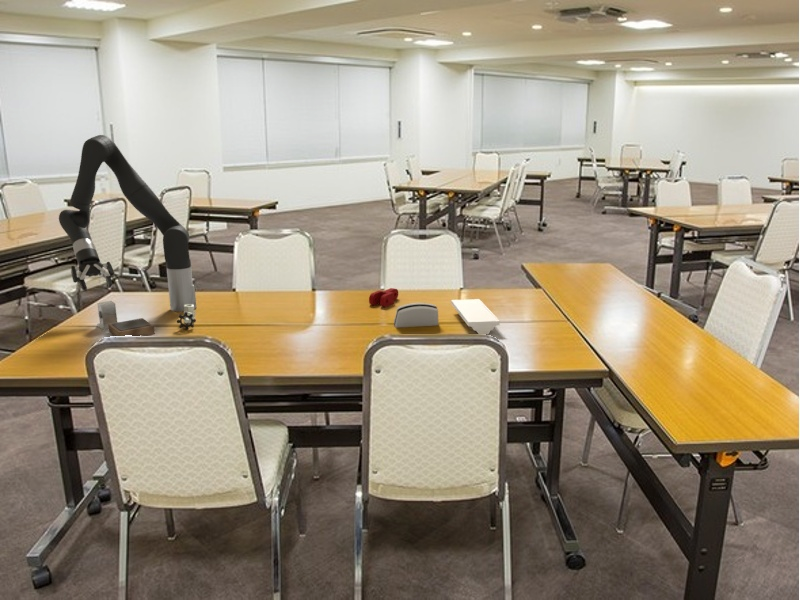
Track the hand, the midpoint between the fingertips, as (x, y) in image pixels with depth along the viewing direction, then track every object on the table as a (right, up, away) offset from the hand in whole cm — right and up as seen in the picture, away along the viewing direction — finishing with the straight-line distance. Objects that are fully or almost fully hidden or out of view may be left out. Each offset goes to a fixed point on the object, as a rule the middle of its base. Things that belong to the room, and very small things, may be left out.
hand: (98, 288), depth 239 cm
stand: (+17, -16, -10) cm, 26 cm away
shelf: (+140, -13, +3) cm, 141 cm away
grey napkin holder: (+119, -14, 0) cm, 120 cm away
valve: (+34, -14, -1) cm, 37 cm away
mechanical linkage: (+107, -6, +30) cm, 111 cm away
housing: (+5, -14, -3) cm, 16 cm away
